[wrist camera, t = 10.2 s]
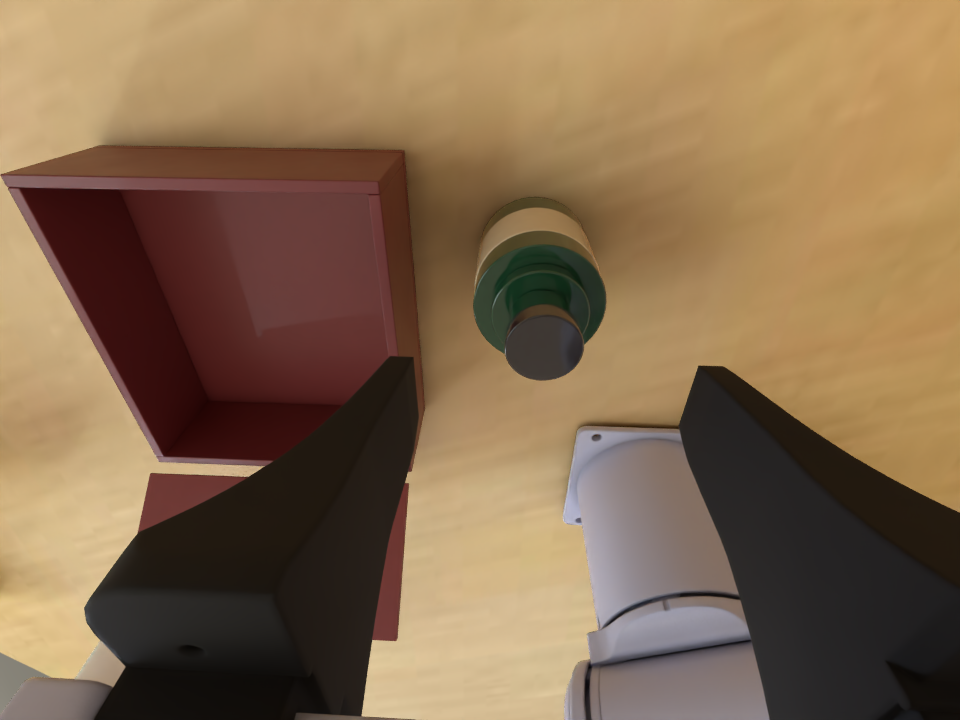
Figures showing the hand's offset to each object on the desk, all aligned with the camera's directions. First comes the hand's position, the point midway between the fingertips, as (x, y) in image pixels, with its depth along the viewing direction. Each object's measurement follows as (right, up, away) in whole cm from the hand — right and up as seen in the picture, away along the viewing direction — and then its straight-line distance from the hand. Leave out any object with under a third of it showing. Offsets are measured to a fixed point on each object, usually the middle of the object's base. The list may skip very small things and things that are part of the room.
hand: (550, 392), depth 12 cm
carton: (-11, +4, +9) cm, 15 cm away
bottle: (0, +5, +8) cm, 9 cm away
